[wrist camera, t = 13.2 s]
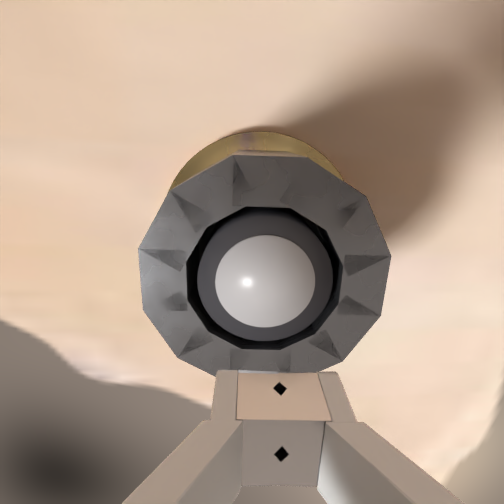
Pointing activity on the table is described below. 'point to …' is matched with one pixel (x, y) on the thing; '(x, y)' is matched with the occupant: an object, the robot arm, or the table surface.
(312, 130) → the table surface
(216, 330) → the lens barrel
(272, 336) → the camera lens
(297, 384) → the robot arm
